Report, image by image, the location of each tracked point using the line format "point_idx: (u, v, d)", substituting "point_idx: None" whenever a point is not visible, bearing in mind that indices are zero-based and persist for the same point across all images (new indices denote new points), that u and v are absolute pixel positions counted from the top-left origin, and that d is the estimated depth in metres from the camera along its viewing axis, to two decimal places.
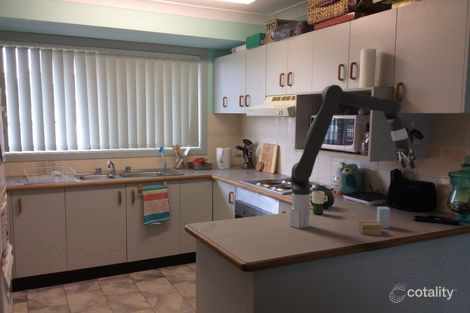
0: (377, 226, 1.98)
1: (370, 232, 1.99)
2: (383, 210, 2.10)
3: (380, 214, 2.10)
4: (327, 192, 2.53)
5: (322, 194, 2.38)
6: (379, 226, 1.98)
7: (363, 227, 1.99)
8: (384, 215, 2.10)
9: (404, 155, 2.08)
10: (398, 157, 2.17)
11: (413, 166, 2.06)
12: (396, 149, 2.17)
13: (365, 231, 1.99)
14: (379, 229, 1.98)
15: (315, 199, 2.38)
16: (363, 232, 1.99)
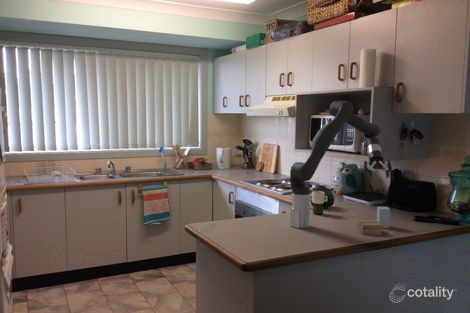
0: (377, 226, 1.98)
1: (370, 232, 1.99)
2: (383, 210, 2.10)
3: (380, 214, 2.10)
4: (327, 192, 2.53)
5: (322, 194, 2.38)
6: (379, 226, 1.98)
7: (363, 227, 1.99)
8: (384, 215, 2.10)
9: (382, 164, 2.24)
10: None
11: (388, 175, 2.21)
12: (365, 161, 2.27)
13: (365, 231, 1.99)
14: (379, 229, 1.98)
15: (315, 199, 2.38)
16: (363, 232, 1.99)
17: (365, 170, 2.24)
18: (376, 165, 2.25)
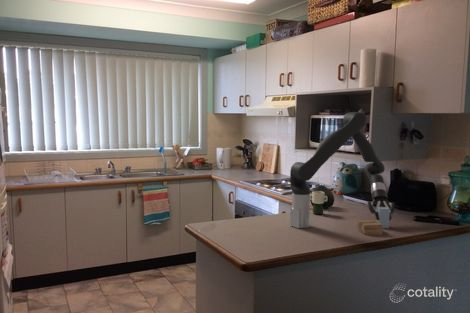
0: (378, 226, 1.99)
1: (371, 232, 1.99)
2: (383, 210, 2.10)
3: (380, 214, 2.10)
4: (327, 192, 2.53)
5: (322, 194, 2.38)
6: (380, 226, 1.99)
7: (365, 227, 1.98)
8: (384, 215, 2.10)
9: (386, 205, 2.14)
10: None
11: (390, 217, 2.11)
12: (369, 202, 2.17)
13: (367, 231, 1.98)
14: (380, 229, 1.99)
15: (315, 199, 2.38)
16: (365, 232, 1.98)
17: (372, 212, 2.14)
18: (381, 205, 2.15)
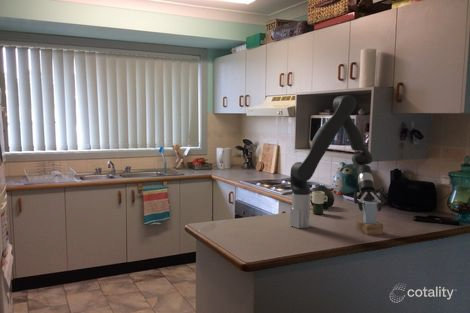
0: (379, 225, 1.99)
1: (373, 232, 1.99)
2: (370, 205, 2.00)
3: (367, 209, 2.00)
4: (327, 192, 2.53)
5: (322, 194, 2.38)
6: (381, 225, 2.00)
7: (368, 228, 1.98)
8: (371, 210, 2.00)
9: (374, 195, 2.04)
10: None
11: None
12: (355, 191, 2.08)
13: (369, 232, 1.98)
14: (381, 228, 2.00)
15: (315, 199, 2.38)
16: (368, 233, 1.98)
17: (355, 202, 2.04)
18: (367, 196, 2.05)
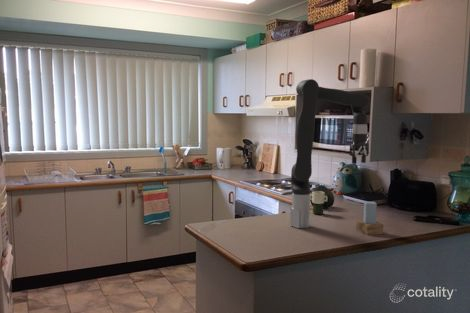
0: (379, 225, 1.99)
1: (373, 232, 1.99)
2: (370, 205, 2.00)
3: (367, 209, 2.00)
4: (327, 192, 2.53)
5: (322, 194, 2.38)
6: (381, 225, 2.00)
7: (368, 228, 1.98)
8: (371, 210, 2.00)
9: (364, 149, 2.19)
10: None
11: None
12: (353, 144, 2.14)
13: (370, 232, 1.98)
14: (381, 228, 2.00)
15: (315, 199, 2.38)
16: (368, 233, 1.98)
17: (351, 155, 2.15)
18: (360, 150, 2.18)
